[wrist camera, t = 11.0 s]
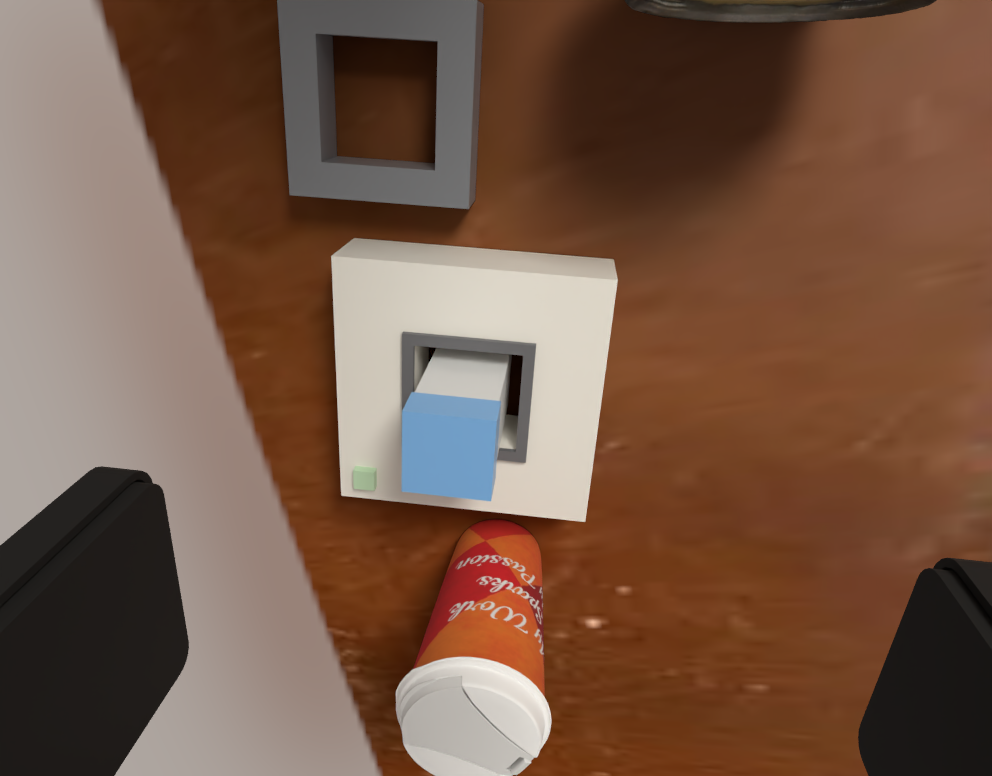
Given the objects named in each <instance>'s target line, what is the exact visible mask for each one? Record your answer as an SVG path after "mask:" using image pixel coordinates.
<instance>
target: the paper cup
mask: <svg viewBox="0 0 992 776" xmlns="http://www.w3.org/2000/svg"><path fill="white" fill-rule="evenodd" d="M396 713H397V718H398V722H399V724H400V727H401V730H402V737H403V744H404V746H405V749H406V750H407V752H408V753H409V755H410V756H411V757H412V758H413V759H414V761H415V762H416V763H417V764H419V765H420V766H421V767H422V768H423V769H425V770H427V771H428V772H430V773H431V774H433V775H435V776H512V775H518V774H519V773H520V772H521V771H522V770H524V769H525V768H526V767H527V766H528V765H529V764H531V760H532V759H533V758H534V757H535V758H536V757H538V754H539V752H540V749H541V748H542V747H543V745H544V743H545V742H546V740H547V738H548V736H549V733H550V728H551V712H550V709H549V706H548V703H547V701H546V699H545V695H544V640H543V594H542V565H541V554H540V549H539V546H538V543H537V541H536V540H535V538H534V537H533V536H532V534H531V533H530V532H529V531H527V530H526V529H525V528H523V527H522V526H520V525H518V524H516V523H514V522H511V521H507V520H501V519H490V520H484V521H481V522H478V523H476V524H474V525H472V526H470V527H469V528H468V529H467V530H466V531H465V532H464V533H463V534H462V536H461V537H460V539H459V541H458V543H457V546H456V548H455V551H454V553H453V556H452V558H451V561H450V564H449V567H448V570H447V572H446V575H445V578H444V581H443V584H442V587H441V589H440V592H439V595H438V598H437V601H436V604H435V607H434V610H433V612H432V615H431V618H430V621H429V624H428V627H427V630H426V633H425V636H424V639H423V642H422V644H421V647H420V650H419V653H418V656H417V659H416V662H415V665H414V668H413V669H412V670H411V671H410V672H409V673H408V674H407V675H406V676H405V677H404V678H403V679H402V681H401V682H400V684H399V686H398V688H397V690H396Z"/></svg>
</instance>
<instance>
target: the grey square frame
mask: <svg viewBox="0 0 992 776" xmlns="http://www.w3.org/2000/svg"><path fill="white" fill-rule="evenodd" d="M277 7H278V23H279V38H280V54H281V69H282V85H283V100H284V116H285V131H286V147H287V162H288V178H289V193H290V195H294V196H307V197H320V198H333V199H345V200H358V201H371V202H384V203H396V204H409V205H422V206H435V207H447V208H460V209H469V208H470V207H471V205H472V204H473V203H474V201H475V193H476V171H477V148H478V126H479V103H480V80H481V58H482V35H483V13H484V4H482V3H481V2H479V1H478V0H277ZM333 36H348V37H364V38H380V39H396V40H412V41H429V42H438V50H437V99H436V148H435V163H424V162H410V161H397V160H383V159H370V158H356V157H343V156H337V141H336V113H335V85H334V57H333Z"/></svg>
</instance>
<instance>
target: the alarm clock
mask: <svg viewBox="0 0 992 776" xmlns="http://www.w3.org/2000/svg"><path fill="white" fill-rule="evenodd" d="M935 1H936V0H625V2H626V3H627V5H628V6H629V7H631V8H632V9H634V10H637V11H640V12H643V13H647V14H651V15H656V16H661V17H667V18H679V19H687V20H698V21H712V22H747V23H773V22H780V23H782V22H812V21H826V20H843V19H854V18H866V17H876V16H883V15H888V14H896V13H902V12H906V11H909V10H914V9H918V8H921V7H925V6H928V5H930V4H932V3H933V2H935Z"/></svg>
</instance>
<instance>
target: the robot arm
mask: <svg viewBox="0 0 992 776" xmlns="http://www.w3.org/2000/svg"><path fill="white" fill-rule="evenodd" d="M188 648H189V642H188V635H187V629H186V624H185V617H184V612H183V606H182V599H181V593H180V587H179V581H178V576H177V569H176V563H175V557H174V551H173V546H172V540H171V533H170V528H169V522H168V516H167V510H166V504H165V498H164V493H163V490H162V488H161V487H160V486H159V485H157V484H153V483H152V479H151V478H150V476H149V475H148V474H147V473H145V472H143V471H138V470H129V469H120V468H110V467H95V468H94V469H92V470H90V471H89V472H88V473H86V474H85V475H84V476H83V477H82V478H80V480H78V481H77V482H76V483H74V484H73V485H72V486H71V487H70V488H69V489H67V490H66V491H65V492H64V493H63V494H61V495H60V496H59V497H58V498H57V499H55V500H54V501H53V502H52V503H51V504H49V505H48V506H47V507H46V508H45V509H43V510H42V511H41V512H40V513H39V514H38V515H36V516H35V517H34V518H33V519H32V520H30V521H29V522H28V523H27V524H26V525H24V526H23V527H22V528H21V529H20V530H18V531H17V532H16V533H15V534H14V535H12V536H11V537H10V538H9V539H8V540H7V541H5V542H4V543H3V544H2V545H0V776H114V775H115V774H116V772H117V770H118V769H119V767H120V766H121V764H122V763H123V761H124V760H125V758H126V757H127V755H128V754H129V752H130V750H131V749H132V747H133V746H134V744H135V743H136V741H137V740H138V738H139V736H140V735H141V734H142V732H143V730H144V729H145V727H146V726H147V724H148V723H149V721H150V720H151V718H152V717H153V715H154V713H155V712H156V710H157V709H158V707H159V706H160V704H161V703H162V701H163V700H164V698H165V696H166V695H167V693H168V692H169V690H170V688H171V687H172V686H173V684H174V683H175V681H176V680H177V678H178V676H179V675H180V673H181V671H182V670H183V667H184V665H185V662H186V659H187V655H188ZM858 740H859V749H860V754H861V758H862V761H863V763H864V766H865V768H866V770H867V773H868V775H869V776H992V562H983V561H973V560H964V559H955V558H944V559H941V560H940V561H939V562H937V563H936V564H935V566H934V568H933V569H932V568H928V569H924V570H923V571H922V572H921V573H920V575H919V577H918V579H917V581H916V584H915V586H914V589H913V591H912V594H911V597H910V599H909V602H908V604H907V607H906V609H905V612H904V614H903V617H902V620H901V622H900V625H899V627H898V630H897V632H896V635H895V637H894V640H893V643H892V645H891V648H890V650H889V653H888V655H887V658H886V660H885V663H884V665H883V668H882V671H881V673H880V676H879V678H878V681H877V683H876V686H875V688H874V691H873V694H872V696H871V699H870V701H869V704H868V706H867V709H866V711H865V714H864V717H863V719H862V722H861V724H860V728H859V736H858Z"/></svg>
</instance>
